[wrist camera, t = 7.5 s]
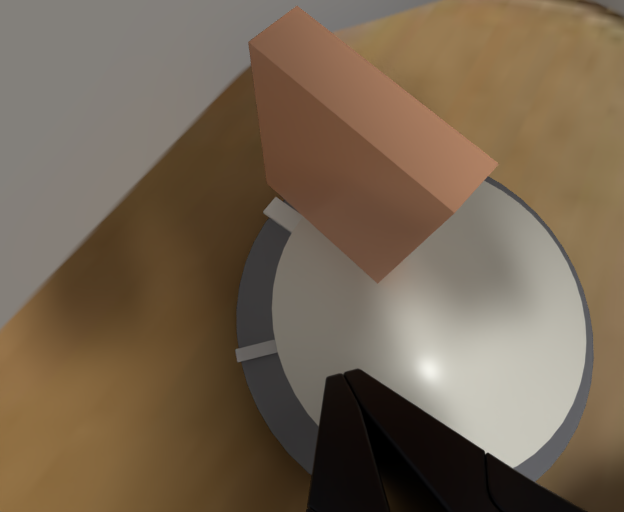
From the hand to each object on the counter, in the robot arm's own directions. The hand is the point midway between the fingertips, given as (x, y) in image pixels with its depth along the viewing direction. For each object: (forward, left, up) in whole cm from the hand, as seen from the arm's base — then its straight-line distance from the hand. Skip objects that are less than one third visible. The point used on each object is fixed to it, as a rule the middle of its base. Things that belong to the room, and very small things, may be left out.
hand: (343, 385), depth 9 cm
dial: (-2, -4, -5) cm, 7 cm away
